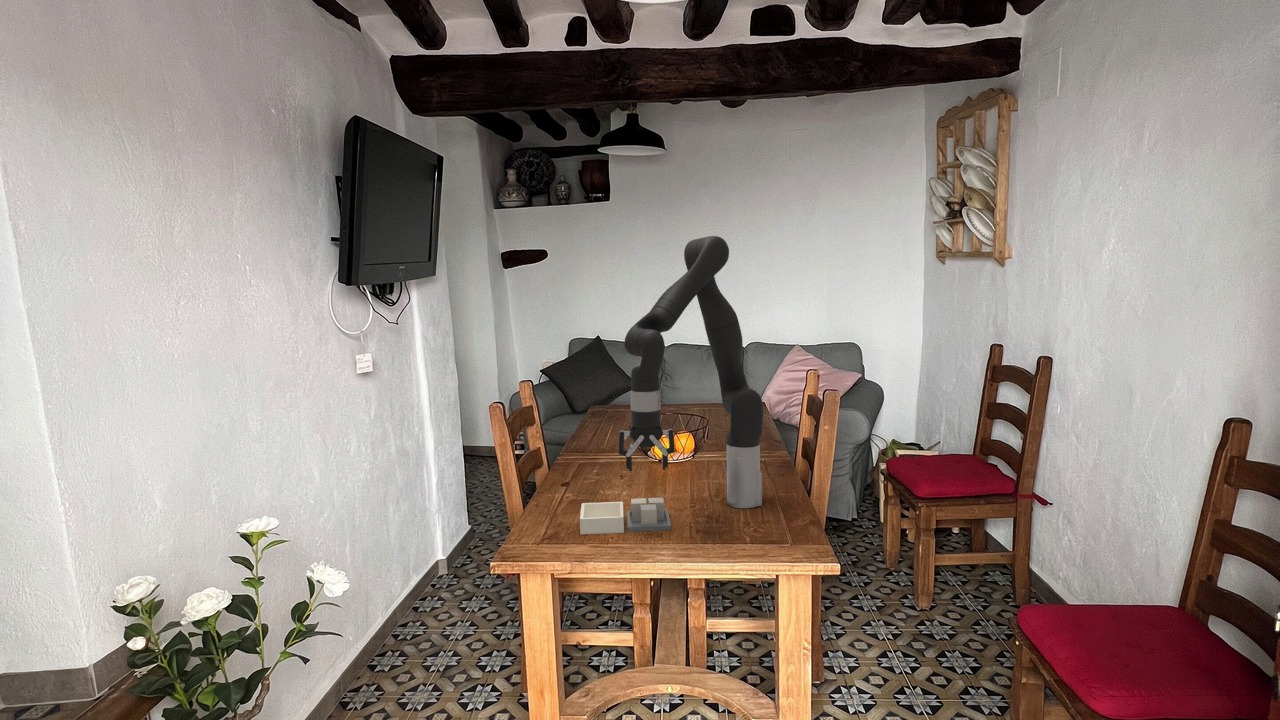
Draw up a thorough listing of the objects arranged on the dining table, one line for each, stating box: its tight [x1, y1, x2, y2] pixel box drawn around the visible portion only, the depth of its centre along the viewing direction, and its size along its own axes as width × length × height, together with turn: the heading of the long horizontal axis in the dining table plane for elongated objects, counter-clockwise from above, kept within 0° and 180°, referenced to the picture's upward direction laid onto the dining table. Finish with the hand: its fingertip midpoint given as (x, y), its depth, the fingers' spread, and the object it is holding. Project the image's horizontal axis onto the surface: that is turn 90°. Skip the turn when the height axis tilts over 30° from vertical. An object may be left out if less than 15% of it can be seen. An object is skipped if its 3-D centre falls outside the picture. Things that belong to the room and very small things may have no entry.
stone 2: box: [640, 504, 657, 525], centre depth 185 cm, size 4×4×5 cm
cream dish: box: [579, 501, 625, 535], centre depth 187 cm, size 11×12×5 cm
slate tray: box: [626, 508, 672, 533], centre depth 188 cm, size 11×12×2 cm
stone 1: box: [630, 497, 648, 522], centre depth 190 cm, size 4×4×5 cm
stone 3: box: [647, 497, 665, 521], centre depth 190 cm, size 4×4×5 cm
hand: (647, 469), depth 184 cm, fingers open, 8 cm apart
